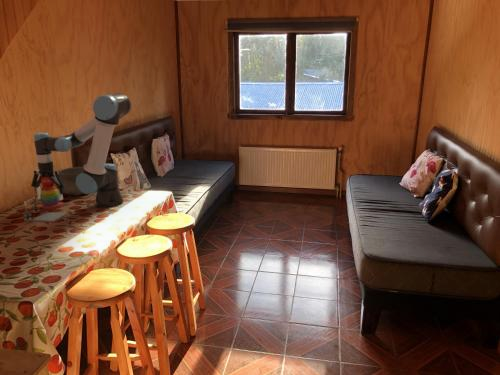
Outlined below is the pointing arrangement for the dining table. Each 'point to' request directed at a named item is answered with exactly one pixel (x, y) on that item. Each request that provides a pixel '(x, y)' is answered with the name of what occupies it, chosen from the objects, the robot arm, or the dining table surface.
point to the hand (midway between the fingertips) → (50, 199)
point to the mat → (49, 217)
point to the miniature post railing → (27, 209)
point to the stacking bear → (49, 195)
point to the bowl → (71, 180)
